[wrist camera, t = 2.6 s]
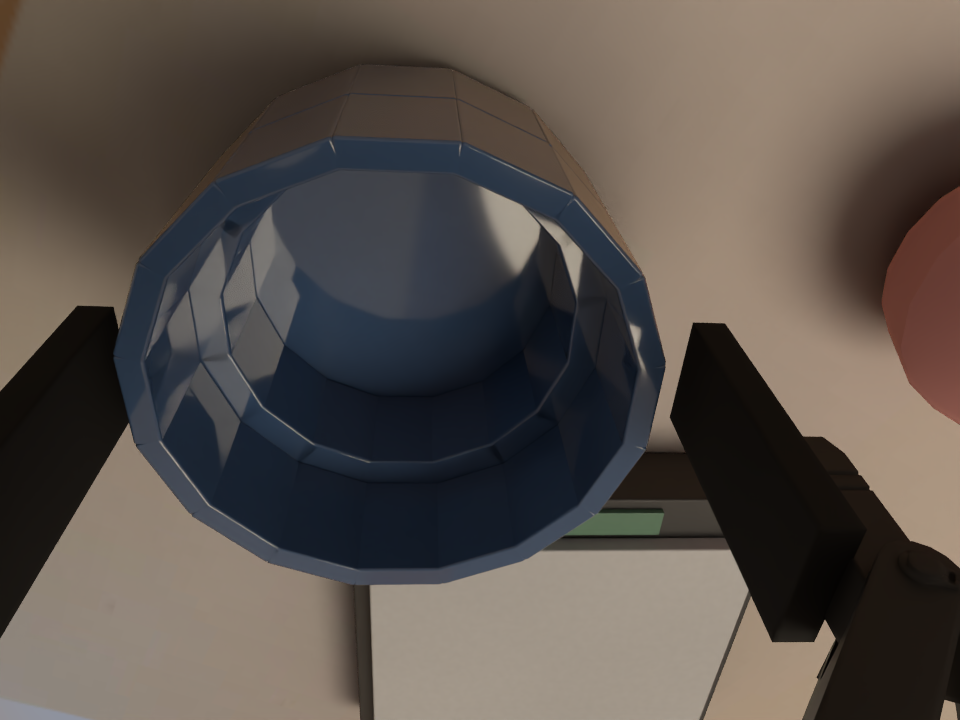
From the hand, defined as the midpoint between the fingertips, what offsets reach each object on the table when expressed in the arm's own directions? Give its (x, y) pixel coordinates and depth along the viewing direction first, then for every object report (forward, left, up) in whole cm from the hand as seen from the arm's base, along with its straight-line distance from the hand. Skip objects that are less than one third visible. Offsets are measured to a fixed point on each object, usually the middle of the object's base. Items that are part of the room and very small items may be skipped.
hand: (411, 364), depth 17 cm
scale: (+14, +5, -5) cm, 16 cm away
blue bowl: (0, 0, -5) cm, 5 cm away
